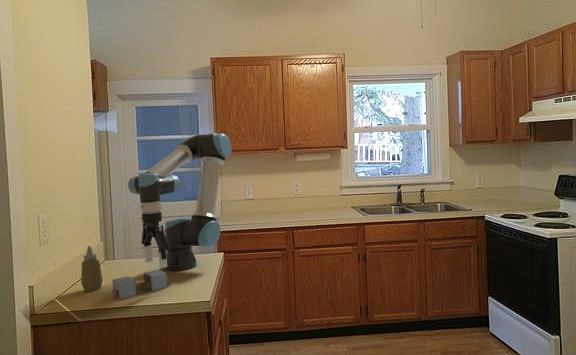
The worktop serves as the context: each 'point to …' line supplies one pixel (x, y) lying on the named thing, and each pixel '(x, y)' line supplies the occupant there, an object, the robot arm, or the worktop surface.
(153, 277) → the grey cube block
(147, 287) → the rail
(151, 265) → the worktop surface
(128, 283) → the slider block
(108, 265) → the worktop surface
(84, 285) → the squeeze bottle
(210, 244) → the robot arm
